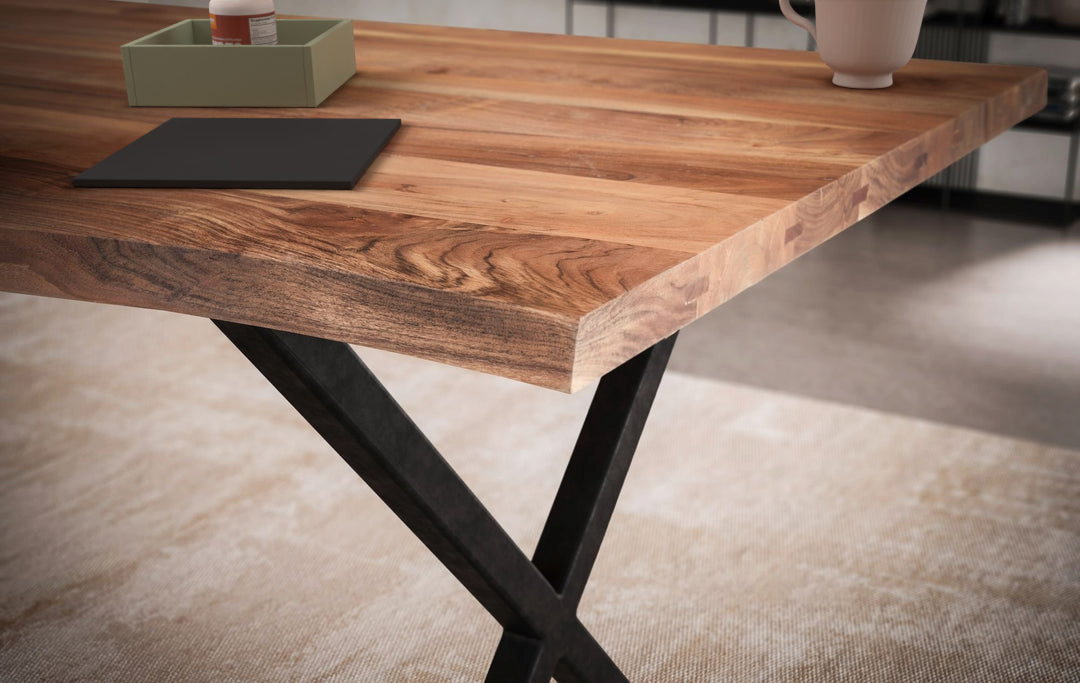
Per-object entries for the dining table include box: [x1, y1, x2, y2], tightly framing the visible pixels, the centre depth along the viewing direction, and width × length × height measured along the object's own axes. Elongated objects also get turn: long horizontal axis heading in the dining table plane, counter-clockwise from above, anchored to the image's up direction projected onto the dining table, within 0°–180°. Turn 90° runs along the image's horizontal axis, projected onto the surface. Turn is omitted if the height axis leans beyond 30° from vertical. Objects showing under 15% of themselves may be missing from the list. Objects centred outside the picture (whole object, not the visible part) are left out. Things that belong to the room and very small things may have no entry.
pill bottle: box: [208, 0, 278, 45], centre depth 113 cm, size 6×6×11 cm
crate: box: [120, 18, 357, 108], centre depth 114 cm, size 18×18×6 cm
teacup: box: [778, 0, 928, 90], centre depth 113 cm, size 12×15×10 cm
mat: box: [71, 117, 403, 190], centre depth 91 cm, size 20×20×1 cm
